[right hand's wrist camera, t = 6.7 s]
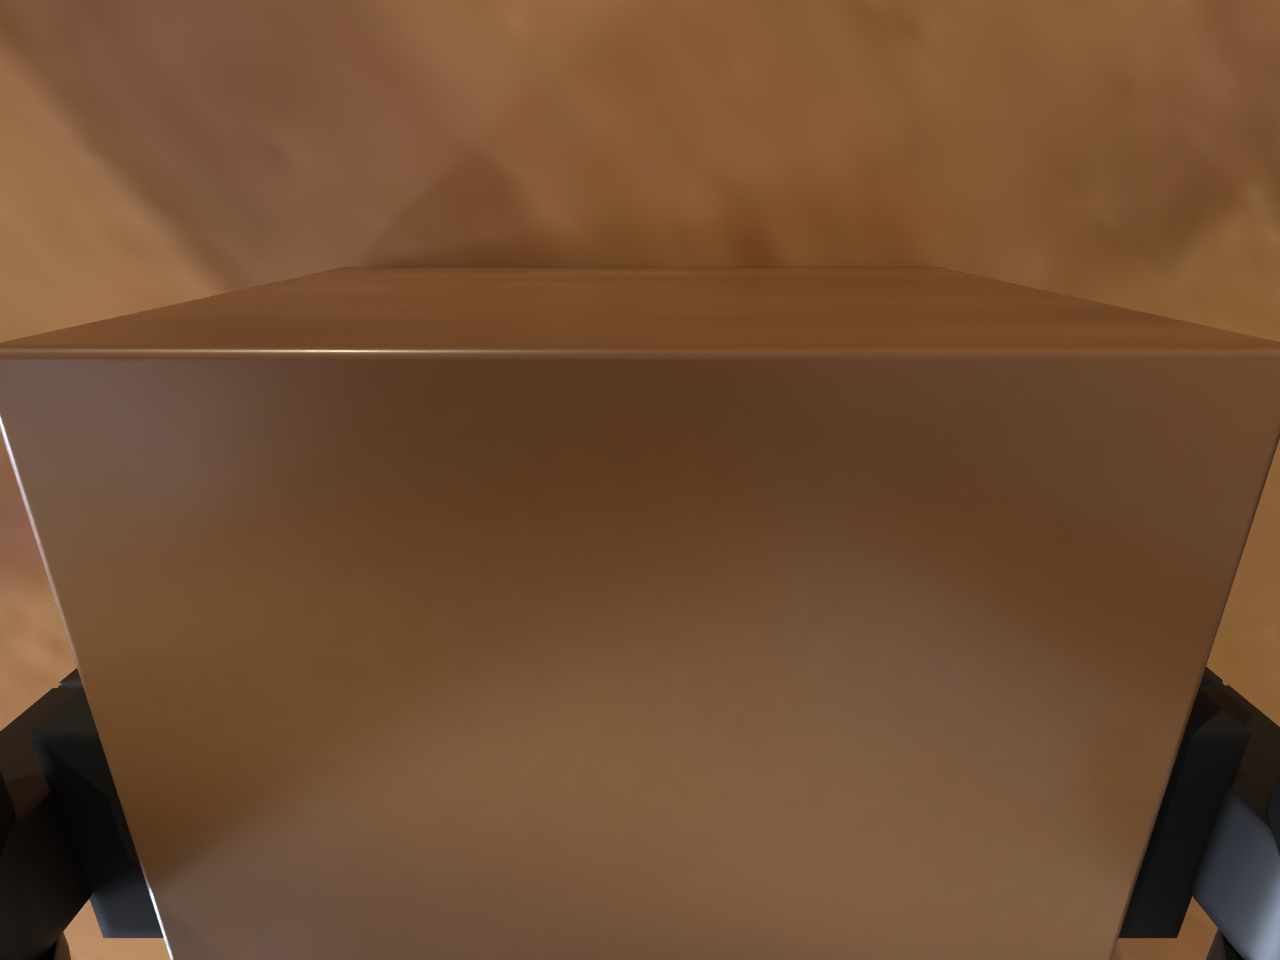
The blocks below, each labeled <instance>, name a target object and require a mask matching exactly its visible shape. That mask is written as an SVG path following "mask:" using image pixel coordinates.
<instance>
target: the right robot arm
mask: <svg viewBox="0 0 1280 960" xmlns="http://www.w3.org/2000/svg"><path fill="white" fill-rule="evenodd" d="M1222 681H1223V680H1222V679H1220V678H1219V677H1218V676H1217V675H1216V674H1214V673H1213V672H1212V671H1211V670H1210V669H1208V668H1207V667H1205V670H1204V673H1203V677H1202V680H1201V683H1200V686H1199V689H1198V692H1197V695H1196V698H1195V701H1194V704H1193V707H1192V711H1191V714H1190V717H1189V720H1188V723H1187V726H1186V729H1185V732H1184V735H1183V738H1182V742H1181V745H1180V748H1179V751H1178V754H1177V757H1176V760H1175V763H1174V766H1173V769H1172V772H1171V776H1170V779H1169V782H1168V785H1167V788H1166V791H1165V794H1164V797H1163V800H1162V803H1161V806H1160V810H1159V813H1158V816H1157V819H1156V822H1155V825H1154V828H1153V831H1152V834H1151V837H1150V841H1149V844H1148V847H1147V850H1146V853H1145V856H1144V859H1143V862H1142V865H1141V868H1140V871H1139V875H1138V878H1137V881H1136V884H1135V887H1134V890H1133V893H1132V896H1131V899H1130V902H1129V906H1128V909H1127V912H1126V915H1125V918H1124V921H1123V924H1122V927H1121V930H1120V933H1119V936H1118V938H1177V936H1178V934H1179V931H1180V928H1181V925H1182V923H1183V920H1184V917H1185V914H1186V912H1187V909H1188V906H1189V903H1190V901H1191V898H1192V896H1193V897H1194V898H1195V900H1196V901H1197V902H1198V903H1199V905H1200V906H1201V907H1202V908H1203V910H1204V911H1205V912H1206V913H1207V915H1208V916H1209V917H1210V918H1211V920H1212V921H1213V922H1214V923H1215V925H1216V926H1217V927H1218V930H1217V933H1216V935H1215V938H1214V940H1213V943H1212V946H1211V948H1210V951H1209V953H1208V956H1207V958H1206V960H1280V727H1279V726H1278V725H1276V724H1275V723H1274V722H1273V721H1272V720H1270V719H1269V718H1268V717H1267V716H1265V715H1264V714H1263V713H1262V712H1261V711H1259V710H1258V709H1257V708H1256V707H1255V706H1253V705H1252V704H1251V703H1250V702H1248V701H1247V700H1246V699H1245V698H1244V697H1242V696H1241V695H1240V694H1239V693H1238V692H1236V691H1235V690H1234V689H1233V688H1231V687H1230V686H1229V685H1223V683H1222ZM88 899H90V901H91V904H92V907H93V910H94V912H95V915H96V918H97V921H98V923H99V926H100V929H101V932H102V934H103V937H104V938H164V937H163V934H162V930H161V927H160V924H159V921H158V918H157V915H156V912H155V909H154V906H153V902H152V899H151V896H150V893H149V890H148V887H147V884H146V881H145V878H144V874H143V871H142V868H141V865H140V862H139V859H138V856H137V853H136V850H135V846H134V843H133V840H132V837H131V834H130V831H129V828H128V825H127V821H126V818H125V815H124V812H123V809H122V806H121V803H120V800H119V797H118V793H117V790H116V787H115V784H114V781H113V778H112V775H111V772H110V769H109V765H108V762H107V759H106V756H105V753H104V750H103V747H102V744H101V741H100V737H99V734H98V731H97V728H96V725H95V722H94V719H93V716H92V713H91V709H90V706H89V703H88V700H87V697H86V694H85V691H84V688H83V685H82V681H81V678H80V675H79V672H78V669H77V668H76V669H75V670H74V671H73V672H72V673H70V674H69V675H68V676H67V677H66V678H64V679H63V680H62V681H61V682H60V683H59V687H58V688H52V689H51V690H50V691H49V692H47V693H46V694H45V695H44V696H43V697H41V698H40V699H39V700H38V701H37V702H35V703H34V704H33V705H32V706H31V707H29V708H28V709H27V710H26V711H25V712H23V713H22V714H21V715H20V716H19V717H17V718H16V719H15V720H14V721H13V722H11V723H10V724H9V725H8V726H6V727H5V728H4V729H3V730H2V731H0V960H71V957H70V951H69V946H68V943H67V940H66V938H65V935H64V933H63V931H64V930H65V928H66V927H67V926H68V925H69V923H70V922H71V921H72V920H73V918H74V917H75V916H76V915H77V913H78V912H79V911H80V909H81V908H82V907H83V906H84V904H85V903H86V902H87V901H88Z"/></svg>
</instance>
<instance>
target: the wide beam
mask: <svg viewBox="0 0 1280 960" xmlns="http://www.w3.org/2000/svg"><path fill="white" fill-rule="evenodd" d="M0 429H1V432H2V435H3V439H4V442H5V445H6V448H7V451H8V454H9V457H10V460H11V464H12V467H13V470H14V473H15V476H16V479H17V482H18V485H19V488H20V492H21V495H22V498H23V501H24V504H25V507H26V510H27V513H28V516H29V520H30V523H31V526H32V529H33V532H34V535H35V538H36V541H37V544H38V548H39V551H40V554H41V557H42V560H43V563H44V566H45V569H46V572H47V576H48V579H49V582H50V585H51V588H52V591H53V594H54V597H55V600H56V604H57V607H58V610H59V613H60V616H61V619H62V622H63V625H64V628H65V632H66V635H67V638H68V641H69V644H70V647H71V650H72V653H73V657H74V660H75V663H76V666H77V669H78V672H79V675H80V678H81V681H82V685H83V688H84V691H85V694H86V697H87V700H88V703H89V706H90V709H91V713H92V716H93V719H94V722H95V725H96V728H97V731H98V734H99V737H100V741H101V744H102V747H103V750H104V753H105V756H106V759H107V762H108V765H109V769H110V772H111V775H112V778H113V781H114V784H115V787H116V790H117V793H118V797H119V800H120V803H121V806H122V809H123V812H124V815H125V818H126V821H127V825H128V828H129V831H130V834H131V837H132V840H133V843H134V846H135V850H136V853H137V856H138V859H139V862H140V865H141V868H142V871H143V874H144V878H145V881H146V884H147V887H148V890H149V893H150V896H151V899H152V902H153V906H154V909H155V912H156V915H157V918H158V921H159V924H160V927H161V930H162V934H163V937H164V940H165V943H166V946H167V949H168V952H169V955H170V958H171V960H1111V958H1112V955H1113V952H1114V949H1115V946H1116V943H1117V940H1118V936H1119V933H1120V930H1121V927H1122V924H1123V921H1124V918H1125V915H1126V912H1127V909H1128V906H1129V902H1130V899H1131V896H1132V893H1133V890H1134V887H1135V884H1136V881H1137V878H1138V875H1139V871H1140V868H1141V865H1142V862H1143V859H1144V856H1145V853H1146V850H1147V847H1148V844H1149V841H1150V837H1151V834H1152V831H1153V828H1154V825H1155V822H1156V819H1157V816H1158V813H1159V810H1160V806H1161V803H1162V800H1163V797H1164V794H1165V791H1166V788H1167V785H1168V782H1169V779H1170V776H1171V772H1172V769H1173V766H1174V763H1175V760H1176V757H1177V754H1178V751H1179V748H1180V745H1181V742H1182V738H1183V735H1184V732H1185V729H1186V726H1187V723H1188V720H1189V717H1190V714H1191V711H1192V707H1193V704H1194V701H1195V698H1196V695H1197V692H1198V689H1199V686H1200V683H1201V680H1202V677H1203V673H1204V670H1205V667H1206V664H1207V661H1208V658H1209V655H1210V652H1211V649H1212V646H1213V642H1214V639H1215V636H1216V633H1217V630H1218V627H1219V624H1220V621H1221V618H1222V615H1223V612H1224V608H1225V605H1226V602H1227V599H1228V596H1229V593H1230V590H1231V587H1232V584H1233V581H1234V577H1235V574H1236V571H1237V568H1238V565H1239V562H1240V559H1241V556H1242V553H1243V550H1244V547H1245V543H1246V540H1247V537H1248V534H1249V531H1250V528H1251V525H1252V522H1253V519H1254V516H1255V512H1256V509H1257V506H1258V503H1259V500H1260V497H1261V494H1262V491H1263V488H1264V485H1265V482H1266V478H1267V475H1268V472H1269V469H1270V466H1271V463H1272V460H1273V457H1274V454H1275V451H1276V448H1277V444H1278V441H1279V438H1280V342H1276V341H1271V340H1266V339H1262V338H1257V337H1253V336H1248V335H1244V334H1239V333H1235V332H1230V331H1225V330H1221V329H1216V328H1212V327H1207V326H1203V325H1198V324H1193V323H1189V322H1184V321H1180V320H1175V319H1171V318H1166V317H1161V316H1157V315H1152V314H1148V313H1143V312H1139V311H1134V310H1130V309H1125V308H1120V307H1116V306H1111V305H1107V304H1102V303H1098V302H1093V301H1088V300H1084V299H1079V298H1075V297H1070V296H1066V295H1061V294H1056V293H1052V292H1047V291H1043V290H1038V289H1034V288H1029V287H1025V286H1020V285H1015V284H1011V283H1006V282H1002V281H997V280H993V279H988V278H983V277H979V276H974V275H970V274H965V273H961V272H956V271H952V270H947V269H942V268H938V267H343V268H338V269H334V270H329V271H325V272H320V273H316V274H311V275H306V276H302V277H297V278H293V279H288V280H284V281H279V282H275V283H270V284H266V285H261V286H256V287H252V288H247V289H243V290H238V291H234V292H229V293H225V294H220V295H216V296H211V297H206V298H202V299H197V300H193V301H188V302H184V303H179V304H175V305H170V306H166V307H161V308H157V309H152V310H147V311H143V312H138V313H134V314H129V315H125V316H120V317H116V318H111V319H107V320H102V321H97V322H93V323H88V324H84V325H79V326H75V327H70V328H66V329H61V330H57V331H52V332H47V333H43V334H38V335H34V336H29V337H25V338H20V339H16V340H11V341H7V342H2V343H0Z"/></svg>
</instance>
